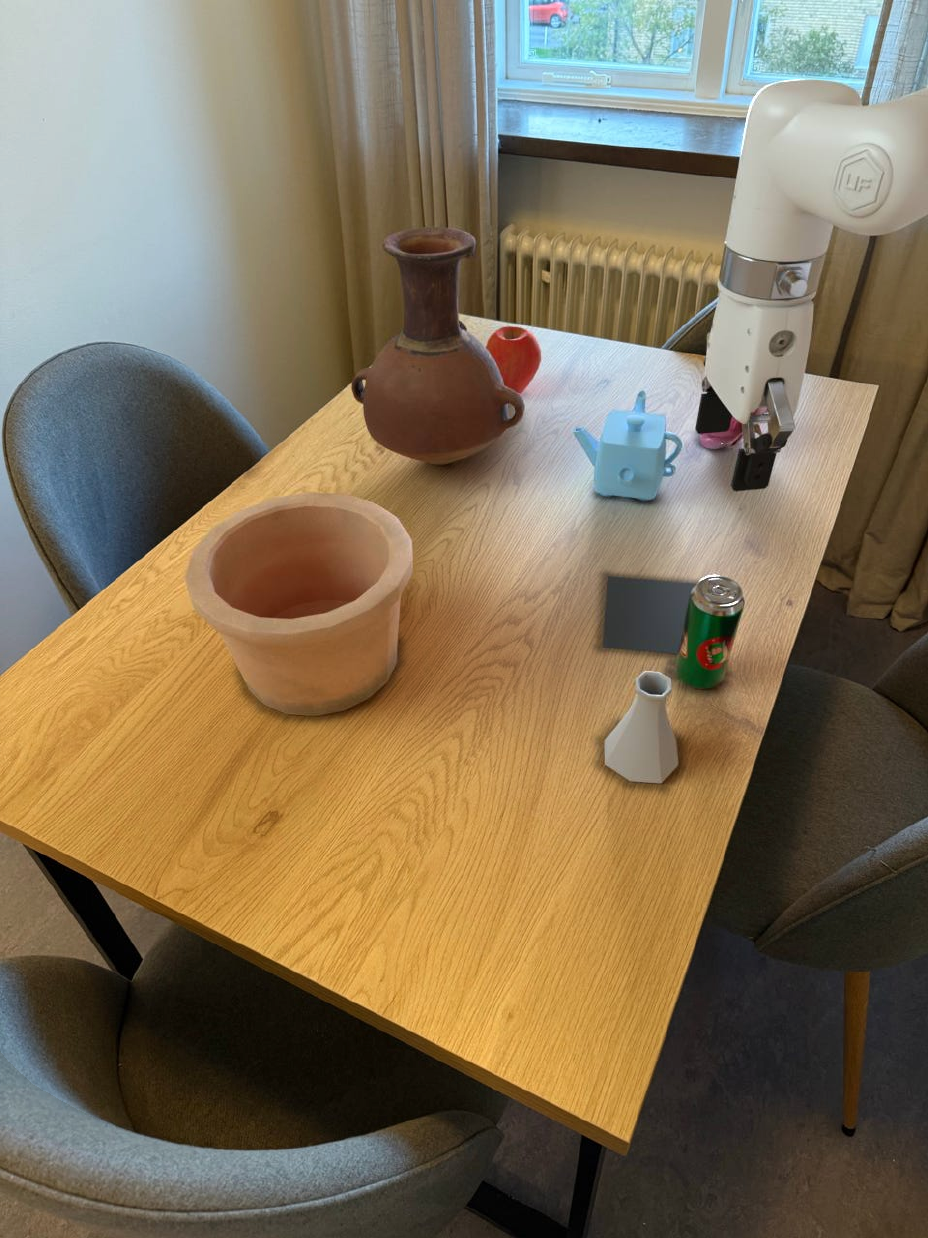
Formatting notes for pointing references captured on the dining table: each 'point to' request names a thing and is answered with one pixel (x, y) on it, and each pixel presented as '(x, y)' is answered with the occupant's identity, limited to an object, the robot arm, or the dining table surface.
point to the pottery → (306, 597)
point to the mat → (645, 614)
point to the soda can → (709, 631)
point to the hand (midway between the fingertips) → (729, 458)
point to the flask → (644, 734)
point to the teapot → (630, 452)
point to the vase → (434, 361)
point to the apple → (515, 356)
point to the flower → (729, 433)
